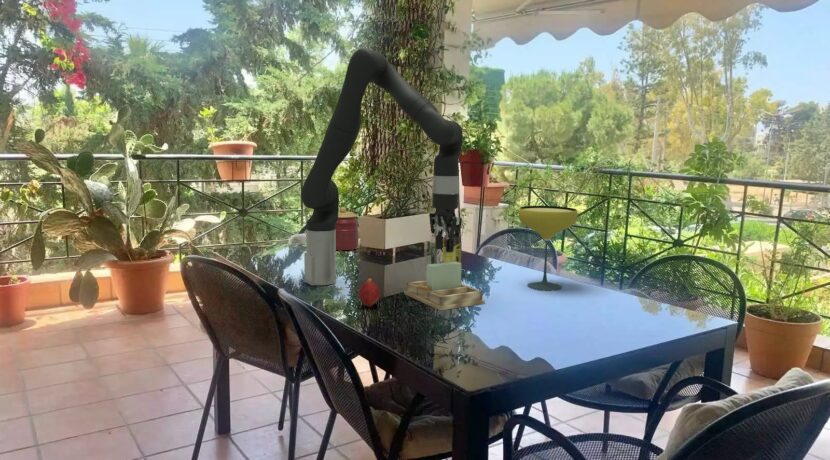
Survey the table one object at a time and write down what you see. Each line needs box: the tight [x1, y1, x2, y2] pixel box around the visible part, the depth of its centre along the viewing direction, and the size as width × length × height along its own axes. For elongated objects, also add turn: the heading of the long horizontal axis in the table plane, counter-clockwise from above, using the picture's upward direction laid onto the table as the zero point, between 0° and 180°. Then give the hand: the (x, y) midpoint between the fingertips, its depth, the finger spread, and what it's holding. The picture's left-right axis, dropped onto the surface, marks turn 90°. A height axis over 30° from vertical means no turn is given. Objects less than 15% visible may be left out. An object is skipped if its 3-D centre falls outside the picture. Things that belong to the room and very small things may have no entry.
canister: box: [336, 206, 360, 252], centre depth 258 cm, size 13×13×18 cm
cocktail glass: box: [518, 205, 579, 292], centre depth 194 cm, size 18×18×25 cm
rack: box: [403, 280, 486, 311], centre depth 179 cm, size 15×20×4 cm
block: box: [425, 262, 462, 291], centre depth 179 cm, size 10×3×9 cm, turn 120°
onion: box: [358, 278, 381, 308], centre depth 169 cm, size 6×6×8 cm
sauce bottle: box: [442, 227, 462, 264], centre depth 207 cm, size 6×6×20 cm
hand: (444, 250), depth 178 cm, fingers open, 5 cm apart
